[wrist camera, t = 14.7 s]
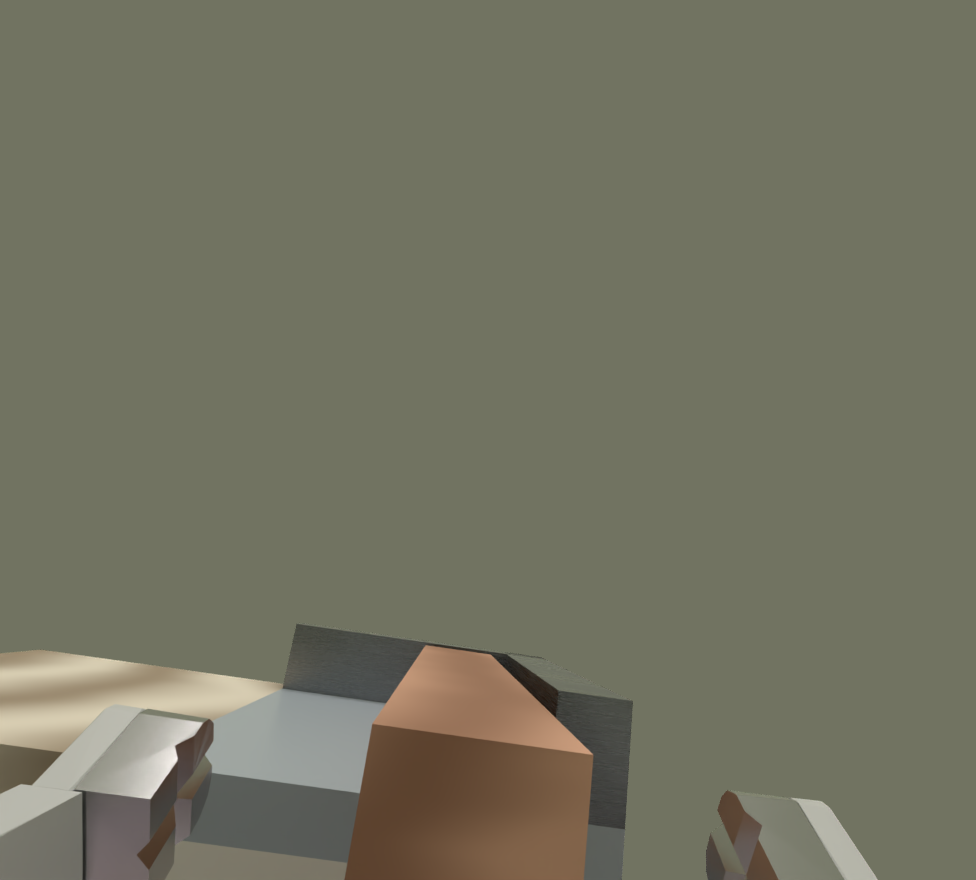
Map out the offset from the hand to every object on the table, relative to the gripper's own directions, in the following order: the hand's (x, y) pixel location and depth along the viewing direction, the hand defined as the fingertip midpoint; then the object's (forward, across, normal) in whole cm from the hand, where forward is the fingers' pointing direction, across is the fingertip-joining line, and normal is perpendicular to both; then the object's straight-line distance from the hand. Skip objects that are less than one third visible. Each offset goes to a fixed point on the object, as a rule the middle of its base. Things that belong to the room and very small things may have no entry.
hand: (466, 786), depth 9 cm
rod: (+6, 0, +6) cm, 8 cm away
